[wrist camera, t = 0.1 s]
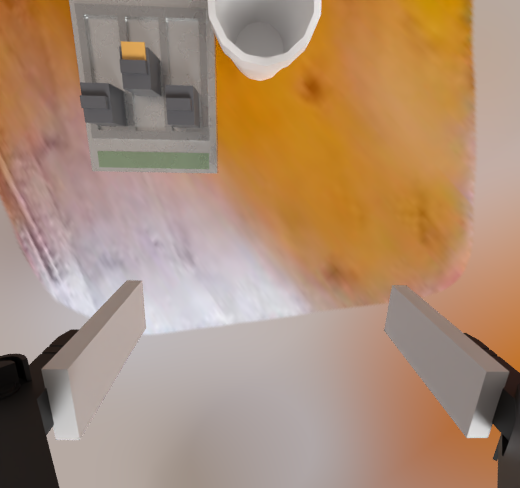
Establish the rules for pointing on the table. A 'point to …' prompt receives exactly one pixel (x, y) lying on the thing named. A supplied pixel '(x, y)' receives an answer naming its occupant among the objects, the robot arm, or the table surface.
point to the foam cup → (263, 32)
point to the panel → (171, 73)
